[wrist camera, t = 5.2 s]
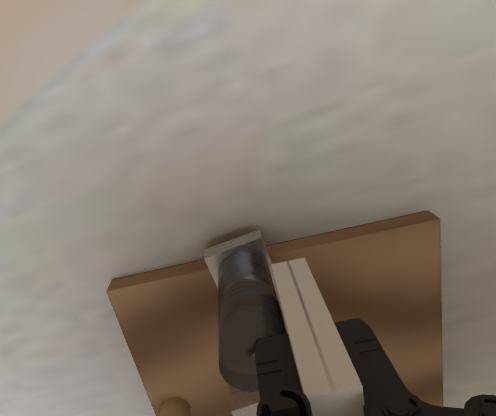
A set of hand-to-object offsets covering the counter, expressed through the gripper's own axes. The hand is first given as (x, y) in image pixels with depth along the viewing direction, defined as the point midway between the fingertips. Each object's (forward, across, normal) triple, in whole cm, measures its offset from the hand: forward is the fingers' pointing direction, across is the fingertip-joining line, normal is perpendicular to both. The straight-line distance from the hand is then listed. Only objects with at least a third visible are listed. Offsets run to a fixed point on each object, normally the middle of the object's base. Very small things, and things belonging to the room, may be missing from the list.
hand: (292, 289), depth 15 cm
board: (+5, 0, +12) cm, 13 cm away
